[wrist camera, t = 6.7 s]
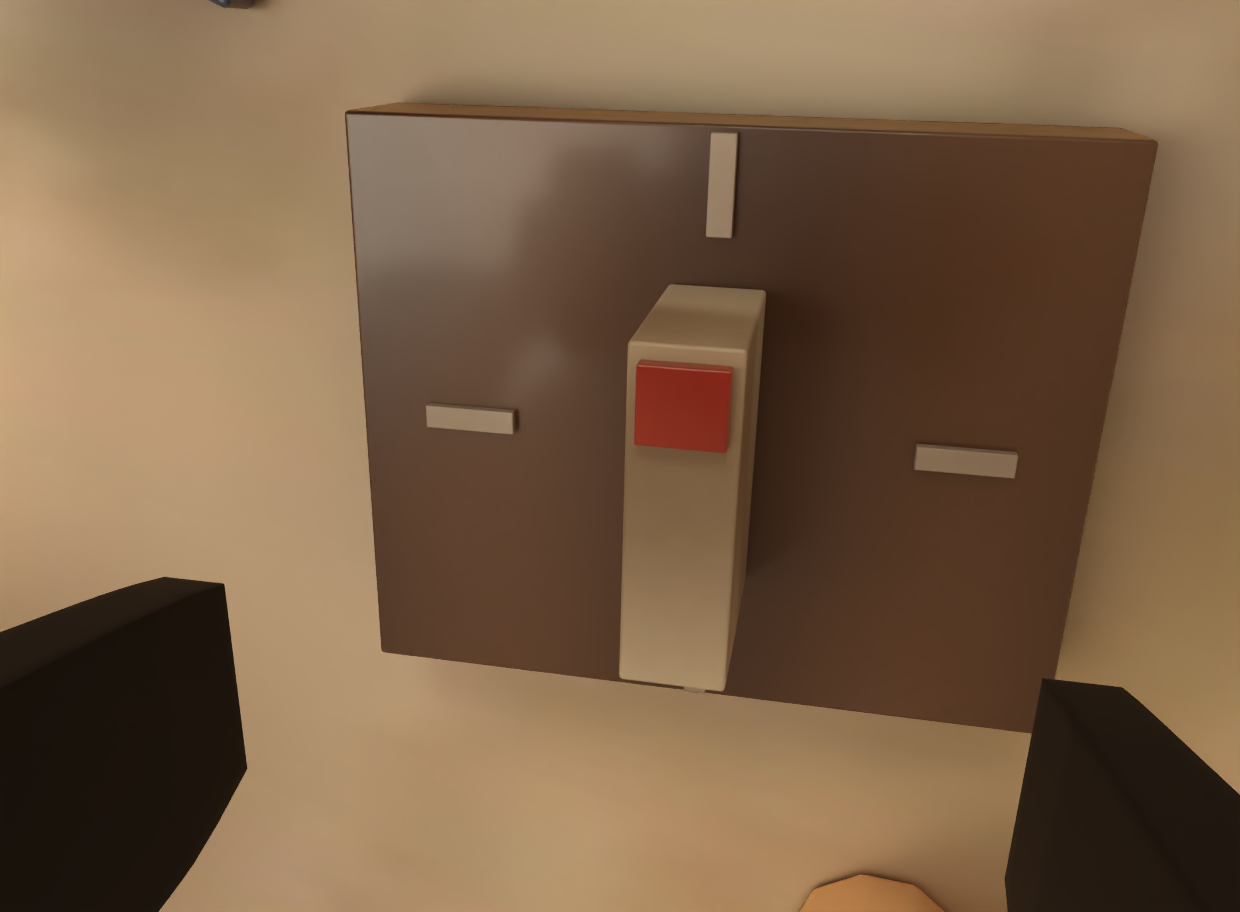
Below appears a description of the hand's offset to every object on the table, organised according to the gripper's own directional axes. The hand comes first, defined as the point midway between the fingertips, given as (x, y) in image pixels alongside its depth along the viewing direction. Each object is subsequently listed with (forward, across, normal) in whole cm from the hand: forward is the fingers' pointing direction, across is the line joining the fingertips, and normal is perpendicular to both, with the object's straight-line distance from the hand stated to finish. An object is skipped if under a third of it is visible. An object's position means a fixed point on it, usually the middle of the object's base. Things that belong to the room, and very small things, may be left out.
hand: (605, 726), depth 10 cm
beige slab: (+7, 0, 0) cm, 7 cm away
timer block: (+9, 0, 0) cm, 9 cm away
